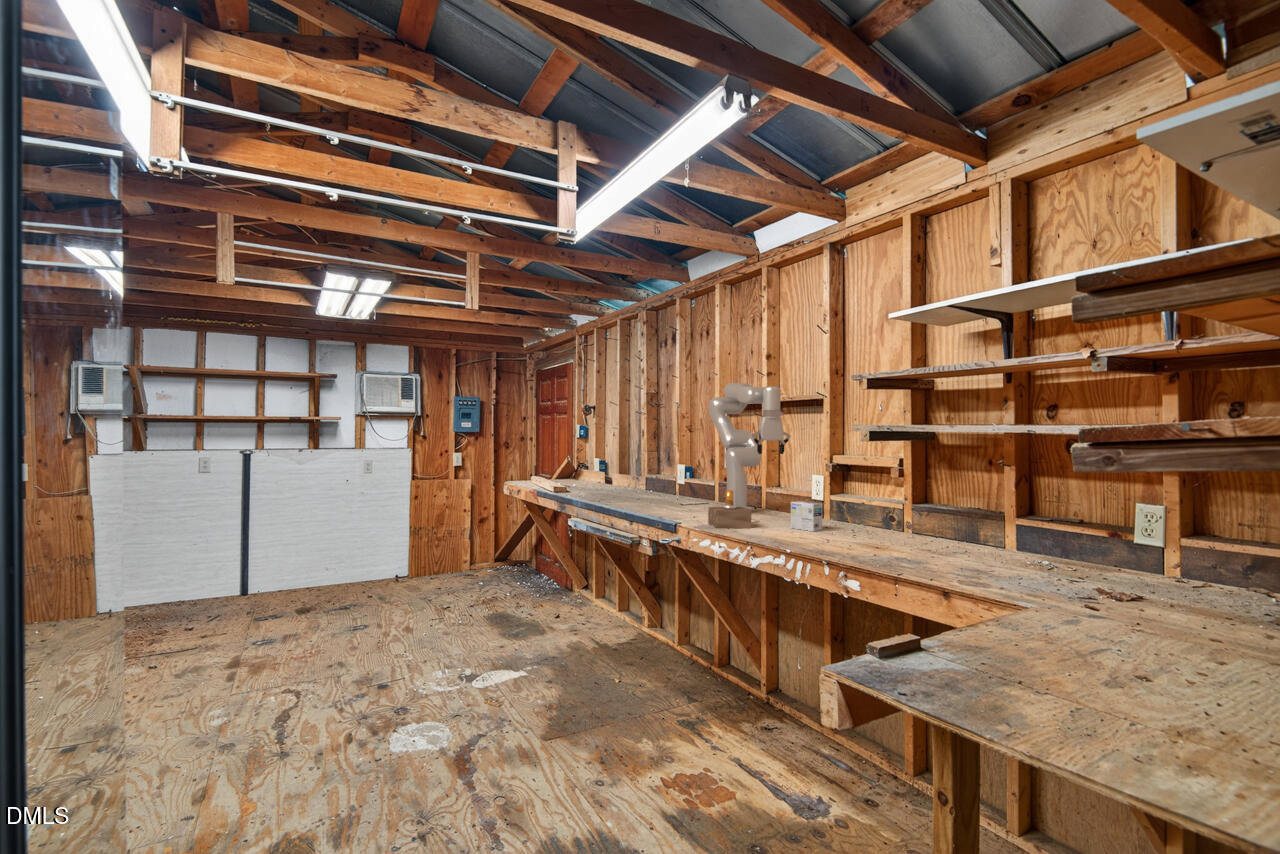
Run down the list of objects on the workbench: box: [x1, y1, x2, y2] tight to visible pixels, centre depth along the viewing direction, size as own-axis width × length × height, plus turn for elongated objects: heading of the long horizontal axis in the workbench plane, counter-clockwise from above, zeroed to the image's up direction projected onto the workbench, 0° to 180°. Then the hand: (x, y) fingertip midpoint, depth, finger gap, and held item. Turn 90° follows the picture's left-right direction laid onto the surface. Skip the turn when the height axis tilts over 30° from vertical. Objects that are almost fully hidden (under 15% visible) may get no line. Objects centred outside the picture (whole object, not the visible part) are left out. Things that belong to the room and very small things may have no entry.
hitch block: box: [707, 506, 752, 529], centre depth 244 cm, size 14×14×7 cm
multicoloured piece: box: [722, 489, 736, 510], centre depth 244 cm, size 6×6×14 cm
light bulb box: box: [790, 500, 823, 532], centre depth 236 cm, size 11×7×11 cm, turn 42°
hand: (770, 453), depth 260 cm, fingers open, 9 cm apart
